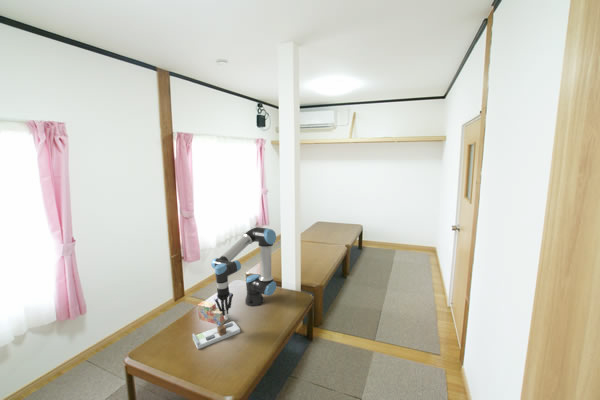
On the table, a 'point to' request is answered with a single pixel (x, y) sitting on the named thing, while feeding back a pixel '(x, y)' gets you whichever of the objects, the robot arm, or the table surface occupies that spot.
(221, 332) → the walnut block
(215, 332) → the box
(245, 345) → the table surface
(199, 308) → the stack of blocks
